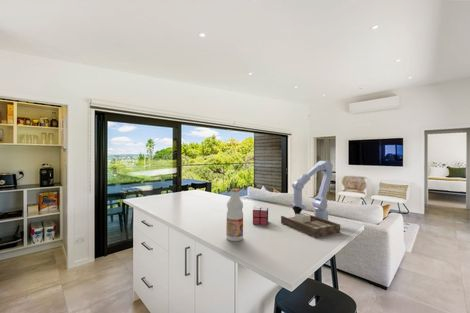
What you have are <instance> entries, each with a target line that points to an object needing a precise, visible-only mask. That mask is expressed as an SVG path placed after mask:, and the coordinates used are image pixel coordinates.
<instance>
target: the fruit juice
mask: <svg viewBox="0 0 470 313" xmlns="http://www.w3.org/2000/svg"><path fill="white" fill-rule="evenodd" d="M230 192H231V193H230V198H229V199H228V200H227V204H226V209H227V211H226V233H225V234H226V236H225V237H226V239H227V240H228V241H231V242H239V241H242V240H243V237H244V212H243V208H244V203H243V201H242V199H241V197H240V188H231V189H230Z"/></svg>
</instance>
